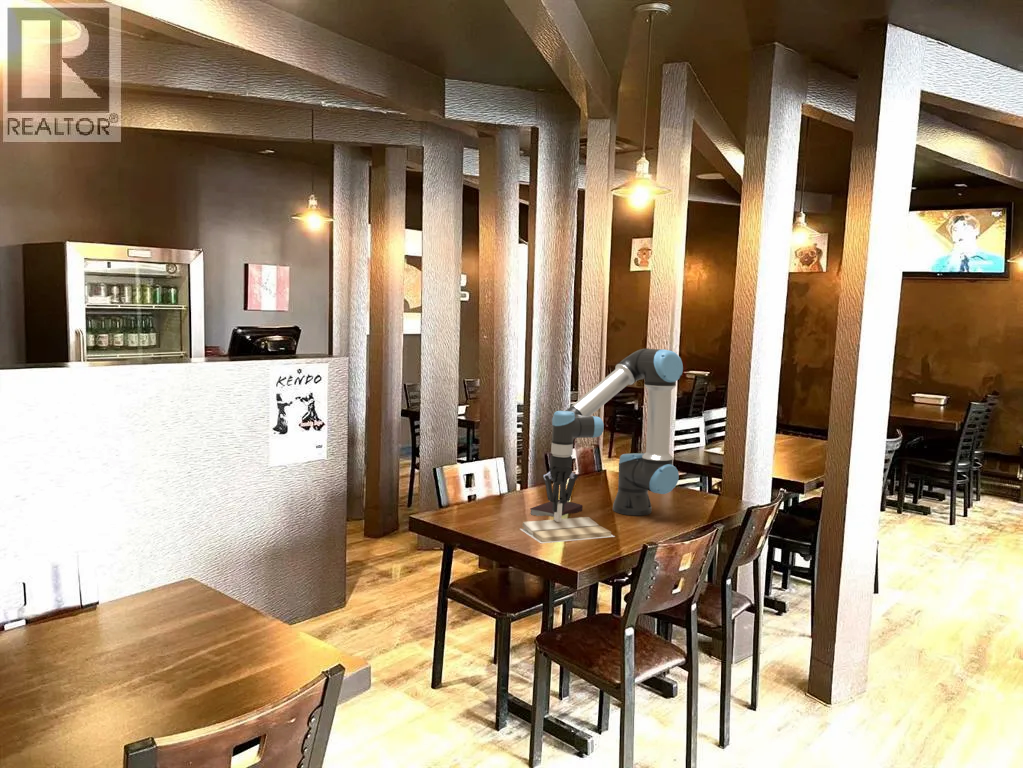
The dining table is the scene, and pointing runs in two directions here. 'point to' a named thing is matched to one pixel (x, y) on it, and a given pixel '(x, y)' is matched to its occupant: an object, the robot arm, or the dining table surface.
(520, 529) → the floor board
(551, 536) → the laid plank
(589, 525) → the loose plank
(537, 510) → the book
